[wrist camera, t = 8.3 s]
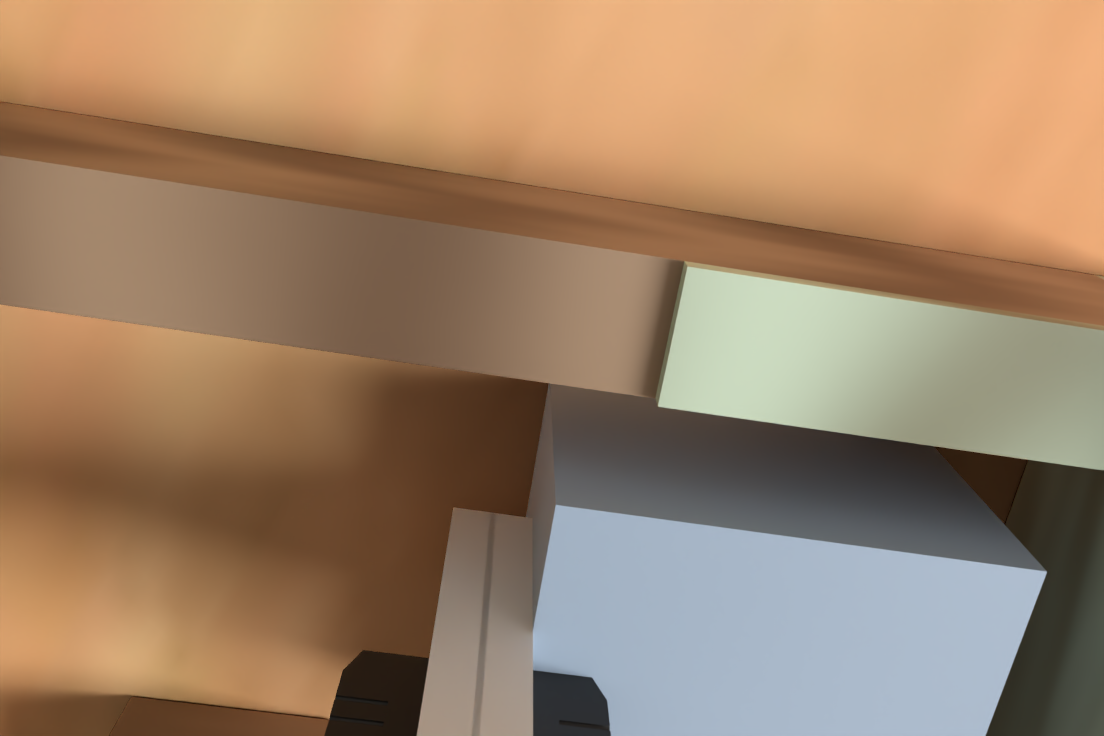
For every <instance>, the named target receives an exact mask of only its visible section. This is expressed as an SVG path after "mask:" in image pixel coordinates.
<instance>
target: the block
mask: <svg viewBox="0 0 1104 736" xmlns="http://www.w3.org/2000/svg"><path fill="white" fill-rule="evenodd" d="M526 517H528V518H533V670H536V671H544V672H552V673H560V674H568V675H576V676H584V677H592V678H593V680H594V681H595V683H596V684H597V686H598V687H599V689H600V690H601V692H602V693H603V695H604V696H605V698H606V699H607V703H608V712H609V722H610V731H611V736H986V733H987V730H988V728H989V725H990V722H991V720H992V717H993V714H994V712H995V709H996V706H997V704H998V701H999V698H1000V696H1001V693H1002V691H1003V688H1004V685H1005V683H1006V680H1007V677H1008V675H1009V672H1010V669H1011V667H1012V664H1013V661H1014V659H1015V656H1016V653H1017V651H1018V648H1019V645H1020V643H1021V640H1022V637H1023V635H1024V632H1025V629H1026V627H1027V624H1028V621H1029V619H1030V616H1031V613H1032V611H1033V608H1034V605H1035V603H1036V600H1037V598H1038V595H1039V592H1040V590H1041V587H1042V584H1043V582H1044V579H1045V576H1046V574H1047V571H1046V570H1045V569H1044V568H1043V566H1042V565H1041V564H1040V563H1039V562H1038V561H1037V560H1036V559H1035V558H1034V557H1033V555H1032V554H1031V553H1030V552H1029V551H1028V550H1027V549H1026V548H1025V547H1024V545H1023V544H1022V543H1021V542H1020V541H1019V540H1018V539H1017V538H1016V537H1015V536H1014V534H1013V533H1012V532H1011V531H1010V530H1009V529H1008V528H1007V527H1006V526H1005V525H1004V523H1003V522H1002V521H1001V520H1000V519H999V518H998V517H997V516H996V515H995V514H994V512H993V511H992V510H991V509H990V508H989V507H988V506H987V505H986V504H985V502H984V501H983V500H982V499H981V498H980V497H979V496H978V495H977V494H976V493H975V491H974V490H973V489H972V488H971V487H970V486H969V485H968V484H967V483H966V482H965V480H964V479H963V478H962V477H961V476H960V475H959V474H958V473H957V472H956V470H955V469H954V468H953V467H952V466H951V465H950V464H949V463H948V462H947V461H946V459H945V458H944V457H943V456H942V455H941V454H940V453H939V452H938V451H937V450H936V448H935V447H934V446H929V445H922V444H915V443H908V442H901V441H894V440H887V439H880V438H873V437H866V436H859V435H852V434H845V433H838V432H831V431H824V430H817V429H810V428H803V427H797V426H790V425H783V424H776V423H769V422H762V421H755V420H748V419H741V418H734V417H727V416H720V415H713V414H706V413H699V412H692V411H685V410H678V409H671V408H664V407H658V406H657V402H656V399H655V398H648V397H641V396H634V395H627V394H620V393H613V392H606V391H599V390H592V389H585V388H578V387H571V386H564V385H557V384H550V383H549V385H548V391H547V397H546V403H545V409H544V415H543V420H542V426H541V432H540V438H539V444H538V450H537V455H536V461H535V467H534V473H533V479H532V484H531V490H530V496H529V502H528V508H527V514H526Z"/></svg>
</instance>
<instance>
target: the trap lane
mask: <svg viewBox="0 0 1104 736" xmlns="http://www.w3.org/2000/svg"><path fill="white" fill-rule="evenodd" d="M0 304H1V305H8V306H15V307H22V308H29V309H36V310H43V311H50V312H57V313H64V314H71V315H78V316H84V317H91V318H98V319H105V320H112V321H119V322H126V323H133V324H140V325H147V326H154V327H161V328H168V329H175V330H182V331H189V332H196V333H203V334H210V335H217V336H224V337H231V338H238V339H244V340H251V341H258V342H265V343H272V344H279V345H286V346H293V347H300V348H307V349H314V350H321V351H328V352H335V353H342V354H349V355H356V356H363V357H370V358H377V359H384V360H391V361H397V362H404V363H411V364H418V365H425V366H432V367H439V368H446V369H453V370H460V371H467V372H474V373H481V374H488V375H495V376H502V377H509V378H516V379H523V380H530V381H537V382H544V383H550V384H557V385H564V386H571V387H578V388H585V389H592V390H599V391H606V392H613V393H620V394H627V395H634V396H641V397H648V398H655V399H656V402H657V406H658V407H664V408H671V409H678V410H685V411H692V412H699V413H706V414H713V415H720V416H727V417H734V418H741V419H748V420H755V421H762V422H769V423H776V424H783V425H790V426H797V427H803V428H810V429H817V430H824V431H831V432H838V433H845V434H852V435H859V436H866V437H873V438H880V439H887V440H894V441H901V442H908V443H915V444H922V445H929V446H936V447H943V448H950V449H957V450H964V451H971V452H978V453H985V454H992V455H999V456H1006V457H1013V458H1020V459H1027V460H1028V462H1027V464H1026V467H1025V470H1024V473H1023V476H1022V479H1021V481H1020V484H1019V487H1018V490H1017V493H1016V496H1015V498H1014V501H1013V504H1012V507H1011V510H1010V512H1009V515H1008V518H1007V521H1006V524H1005V526H1006V527H1007V528H1008V529H1009V530H1010V531H1011V532H1012V533H1013V534H1014V536H1015V537H1016V538H1017V539H1018V540H1019V541H1020V542H1021V543H1022V544H1023V545H1024V547H1025V548H1026V549H1027V550H1028V551H1029V552H1030V553H1031V554H1032V555H1033V557H1034V558H1035V559H1036V560H1037V561H1038V562H1039V563H1040V564H1041V565H1042V566H1043V568H1044V569H1045V570H1046V571H1047V574H1046V576H1045V579H1044V582H1043V584H1042V587H1041V590H1040V592H1039V595H1038V598H1037V600H1036V603H1035V605H1034V608H1033V611H1032V613H1031V616H1030V619H1029V621H1028V624H1027V627H1026V629H1025V632H1024V635H1023V637H1022V640H1021V643H1020V645H1019V648H1018V651H1017V653H1016V656H1015V659H1014V661H1013V664H1012V667H1011V669H1010V672H1009V675H1008V677H1007V680H1006V683H1005V685H1004V688H1003V691H1002V693H1001V696H1000V698H999V701H998V704H997V706H996V709H995V712H994V714H993V717H992V720H991V722H990V725H989V728H988V730H987V733H986V736H1104V276H1099V275H1092V274H1086V273H1080V272H1073V271H1067V270H1061V269H1054V268H1048V267H1042V266H1035V265H1029V264H1023V263H1017V262H1010V261H1004V260H998V259H991V258H985V257H979V256H972V255H966V254H960V253H953V252H947V251H941V250H934V249H928V248H922V247H915V246H909V245H903V244H896V243H890V242H884V241H878V240H871V239H865V238H859V237H852V236H846V235H840V234H833V233H827V232H821V231H814V230H808V229H802V228H795V227H789V226H783V225H776V224H770V223H764V222H757V221H751V220H745V219H738V218H732V217H726V216H720V215H713V214H707V213H701V212H694V211H688V210H682V209H675V208H669V207H663V206H656V205H650V204H644V203H637V202H631V201H625V200H618V199H612V198H606V197H599V196H593V195H587V194H581V193H574V192H568V191H562V190H555V189H549V188H543V187H536V186H530V185H524V184H517V183H511V182H505V181H498V180H492V179H486V178H479V177H473V176H467V175H460V174H454V173H448V172H441V171H435V170H429V169H423V168H416V167H410V166H404V165H397V164H391V163H385V162H378V161H372V160H366V159H359V158H353V157H347V156H340V155H334V154H328V153H321V152H315V151H309V150H302V149H296V148H290V147H284V146H277V145H271V144H265V143H258V142H252V141H246V140H239V139H233V138H227V137H220V136H214V135H208V134H201V133H195V132H189V131H182V130H176V129H170V128H163V127H157V126H151V125H144V124H138V123H132V122H126V121H119V120H113V119H107V118H100V117H94V116H88V115H81V114H75V113H69V112H62V111H56V110H50V109H43V108H37V107H31V106H24V105H18V104H12V103H5V102H0ZM328 721H329V720H327V719H318V718H310V717H301V716H293V715H284V714H275V713H267V712H258V711H250V710H241V709H233V708H224V707H216V706H207V705H198V704H190V703H181V702H173V701H164V700H156V699H147V698H139V697H131V698H130V700H129V702H128V703H127V705H126V707H125V709H124V710H123V712H122V714H121V716H120V717H119V719H118V721H117V723H116V724H115V726H114V728H113V729H112V731H111V733H110V735H109V736H324V735H325V731H326V728H327V725H328Z"/></svg>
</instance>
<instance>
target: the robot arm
mask: <svg viewBox="0 0 1104 736" xmlns="http://www.w3.org/2000/svg"><path fill="white" fill-rule="evenodd" d="M324 736H611V731H610V722H609V712H608V703H607V699H606V698H605V696H604V695H603V693H602V692H601V690H600V689H599V687H598V686H597V684H596V683H595V681H594V680H593V678H592V677H584V676H576V675H568V674H560V673H552V672H544V671H536V670H533V518H528V517H520V516H513V515H505V514H498V513H491V512H484V511H477V510H469V509H462V508H455V507H453V513H452V519H451V525H450V531H449V538H448V544H447V550H446V556H445V563H444V569H443V575H442V581H441V587H440V594H439V600H438V606H437V612H436V619H435V625H434V631H433V637H432V644H431V650H430V656H429V658H422V657H414V656H406V655H398V654H390V653H382V652H374V651H366V650H363V651H362V652H361V653H360V654H359V655H358V656H357V657H356V658H355V659H354V660H353V661H352V662H351V663H350V664H349V665H348V666H347V667H346V668H345V669H344V670H343V672H342V676H341V679H340V683H339V686H338V690H337V693H336V698H335V700H334V704H333V707H332V711H331V714H330V719H329V721H328V725H327V728H326V731H325V735H324Z"/></svg>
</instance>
